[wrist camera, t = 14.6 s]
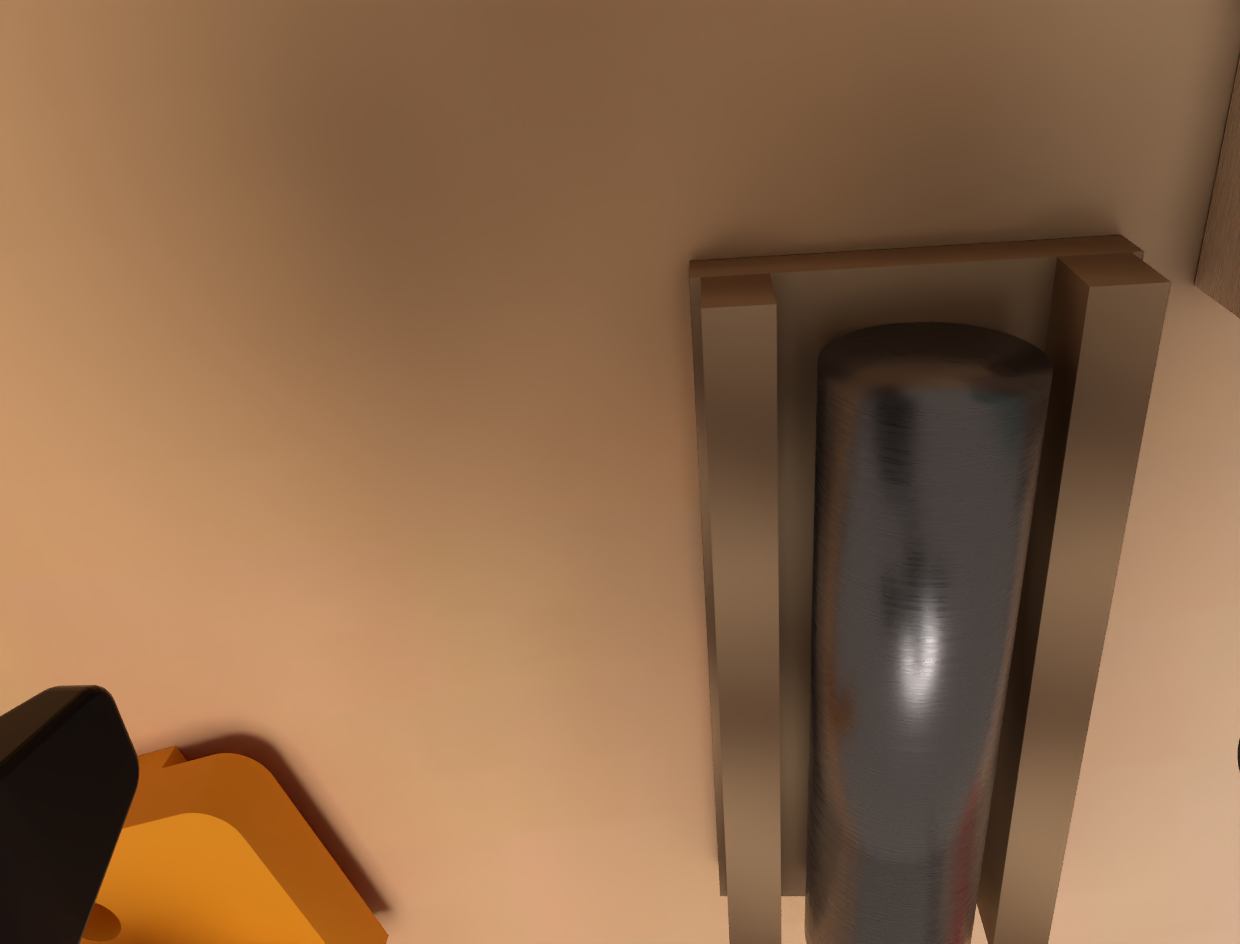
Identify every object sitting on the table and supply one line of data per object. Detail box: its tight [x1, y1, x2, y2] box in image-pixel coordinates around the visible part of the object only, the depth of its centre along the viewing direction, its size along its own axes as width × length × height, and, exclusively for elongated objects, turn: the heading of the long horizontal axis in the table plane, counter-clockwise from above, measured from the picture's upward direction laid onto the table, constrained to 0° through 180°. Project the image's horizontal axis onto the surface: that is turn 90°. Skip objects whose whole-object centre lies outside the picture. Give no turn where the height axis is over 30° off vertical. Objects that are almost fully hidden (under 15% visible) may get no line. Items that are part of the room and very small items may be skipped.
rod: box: [805, 322, 1053, 944], centre depth 19 cm, size 14×4×4 cm, turn 4°
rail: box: [689, 235, 1171, 944], centre depth 21 cm, size 16×8×3 cm, turn 5°
